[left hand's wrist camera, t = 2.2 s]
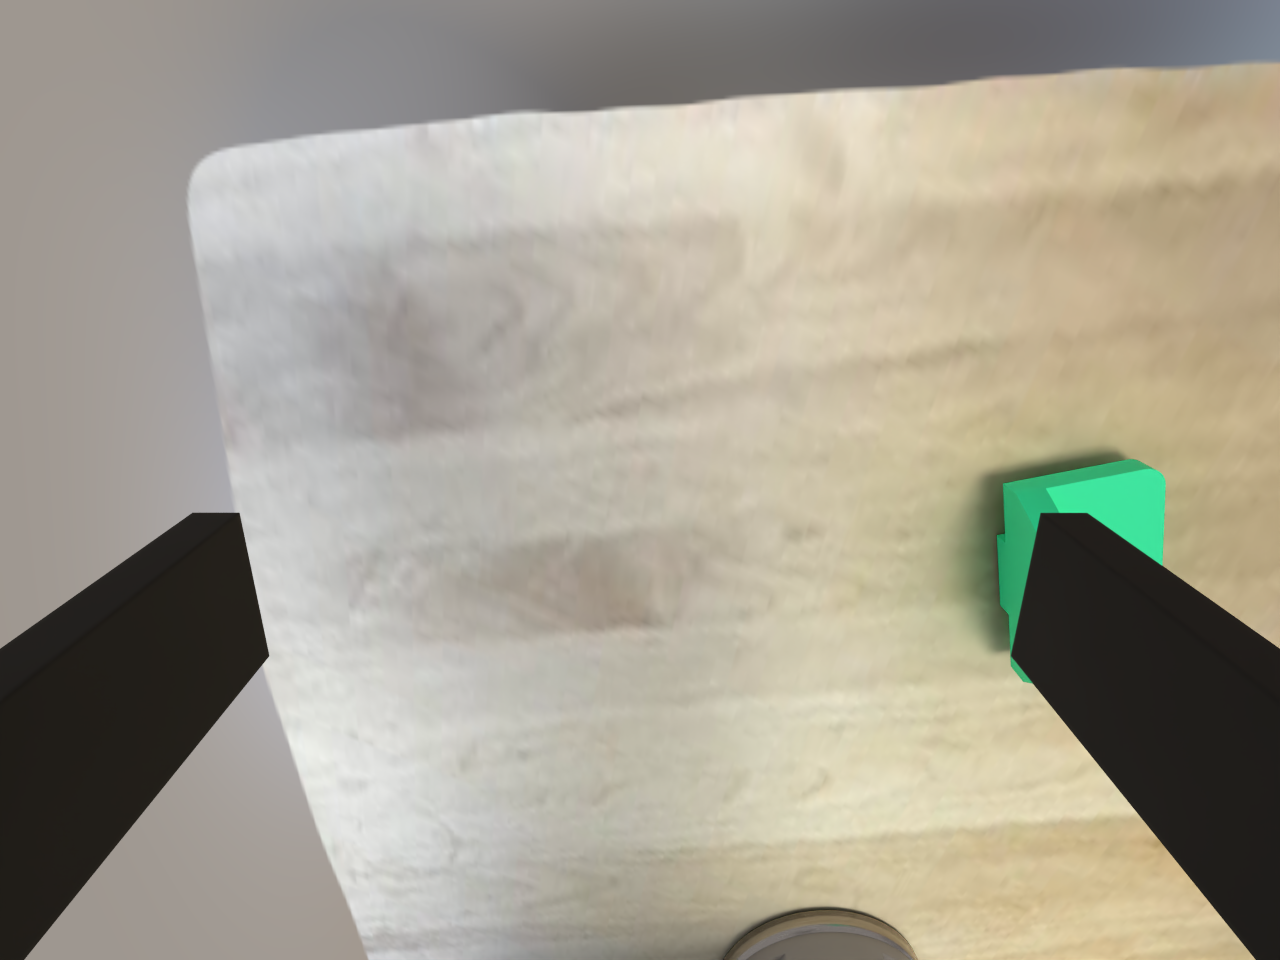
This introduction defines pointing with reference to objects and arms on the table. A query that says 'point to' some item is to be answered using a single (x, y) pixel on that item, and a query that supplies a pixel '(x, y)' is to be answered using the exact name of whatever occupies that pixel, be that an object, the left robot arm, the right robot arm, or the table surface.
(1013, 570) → the camera mount
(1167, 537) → the table surface
